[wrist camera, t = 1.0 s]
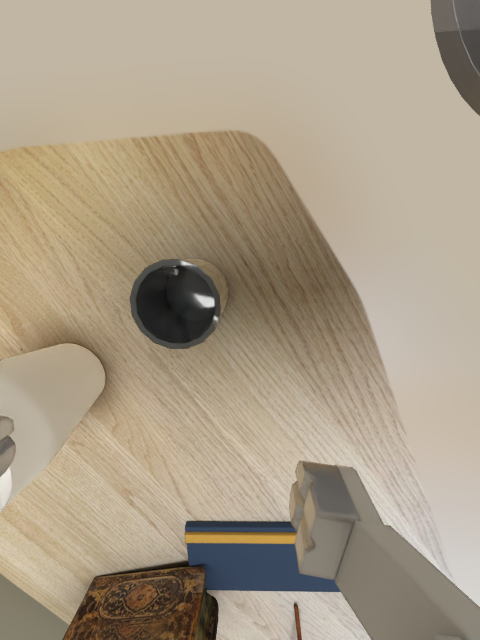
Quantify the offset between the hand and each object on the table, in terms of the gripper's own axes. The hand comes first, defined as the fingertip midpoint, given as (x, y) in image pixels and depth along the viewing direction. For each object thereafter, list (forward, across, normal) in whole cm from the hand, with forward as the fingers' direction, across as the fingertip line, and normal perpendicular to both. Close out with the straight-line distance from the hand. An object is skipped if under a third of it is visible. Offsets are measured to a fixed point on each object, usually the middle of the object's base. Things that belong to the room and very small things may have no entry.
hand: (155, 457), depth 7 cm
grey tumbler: (+18, +2, -2) cm, 18 cm away
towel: (+18, -11, +28) cm, 35 cm away
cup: (+18, +14, +8) cm, 24 cm away
